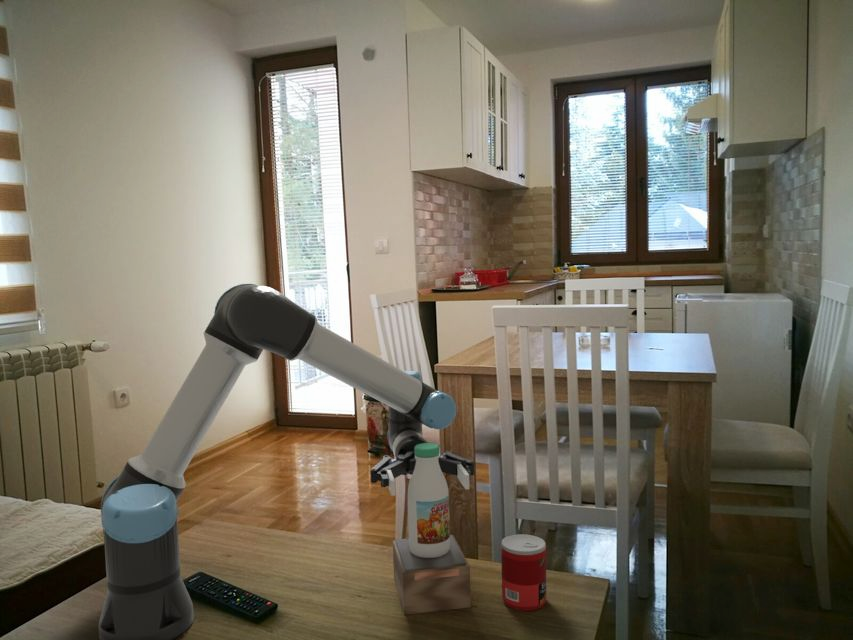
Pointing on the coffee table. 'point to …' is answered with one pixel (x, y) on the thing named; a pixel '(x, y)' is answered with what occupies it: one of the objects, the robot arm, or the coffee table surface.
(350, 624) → the coffee table surface
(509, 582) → the canned food
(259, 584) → the coffee table surface
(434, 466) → the milk bottle
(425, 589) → the riser
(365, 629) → the coffee table surface
